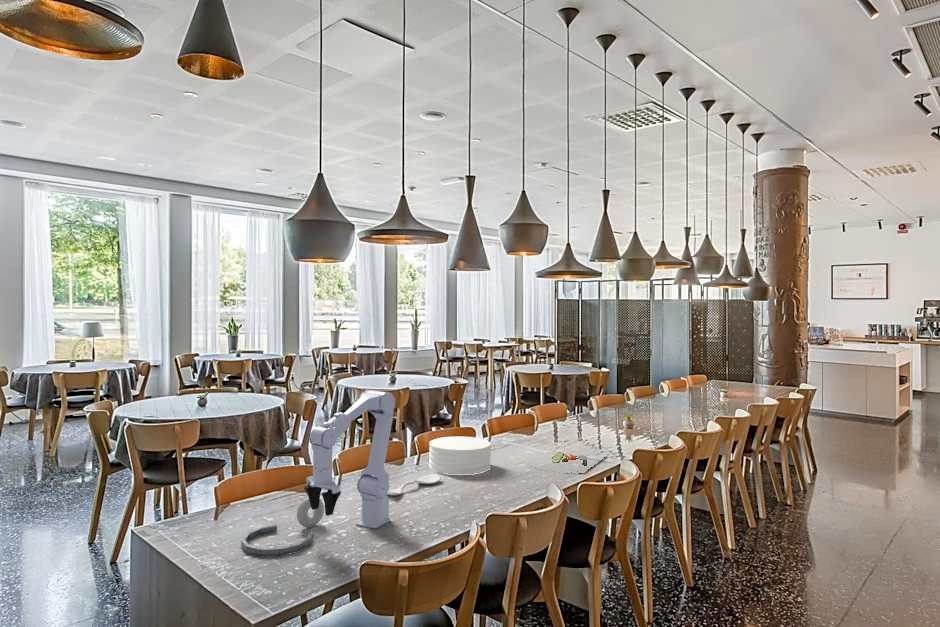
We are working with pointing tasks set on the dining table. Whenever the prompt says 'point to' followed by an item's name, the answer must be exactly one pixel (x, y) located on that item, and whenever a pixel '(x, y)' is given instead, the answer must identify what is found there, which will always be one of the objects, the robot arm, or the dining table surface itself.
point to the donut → (303, 513)
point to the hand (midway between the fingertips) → (322, 511)
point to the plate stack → (459, 455)
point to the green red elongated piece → (560, 455)
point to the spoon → (423, 480)
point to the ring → (271, 551)
